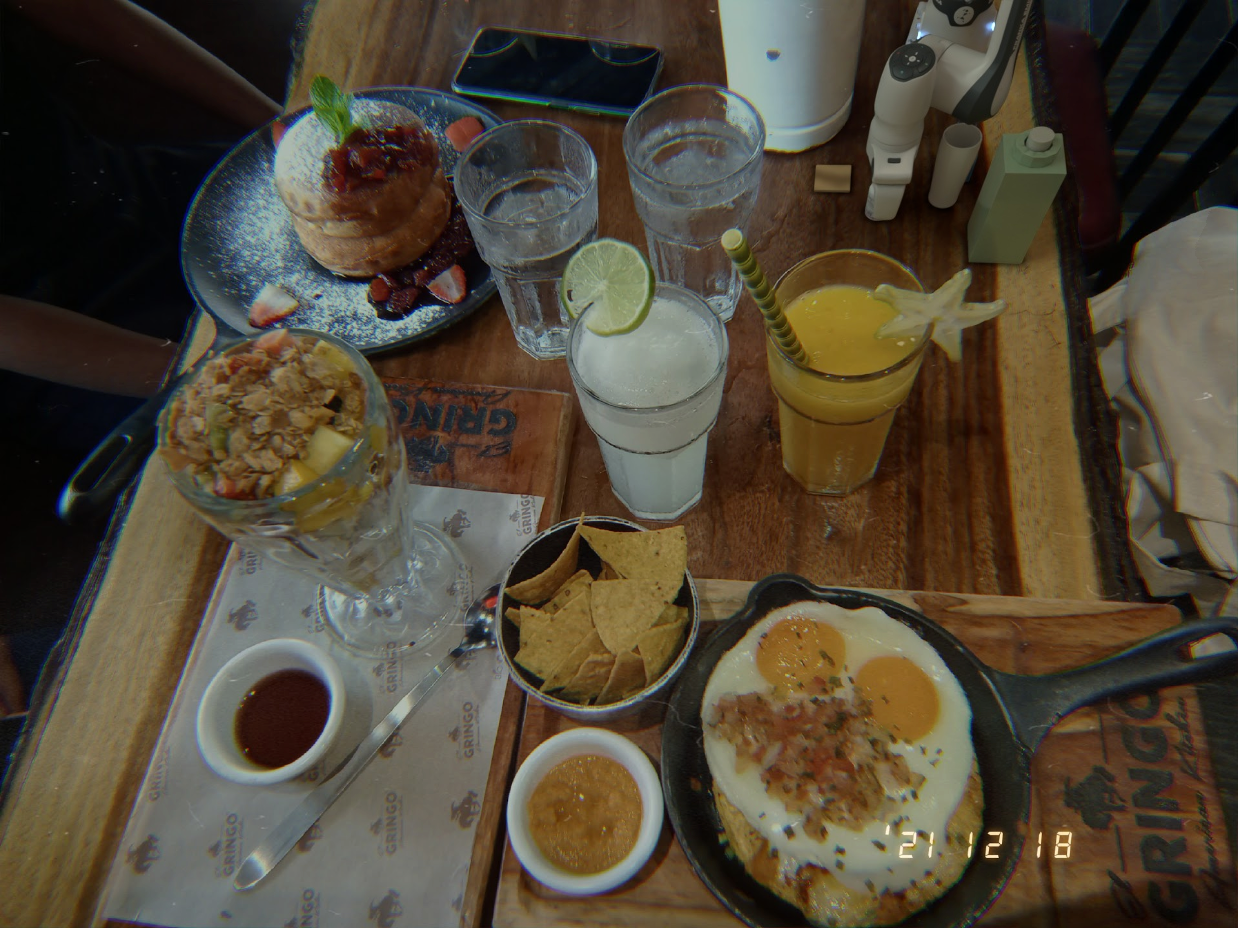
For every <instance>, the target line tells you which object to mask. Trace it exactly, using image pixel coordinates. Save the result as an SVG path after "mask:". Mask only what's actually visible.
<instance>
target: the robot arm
mask: <svg viewBox="0 0 1238 928" xmlns="http://www.w3.org/2000/svg"><path fill="white" fill-rule="evenodd" d="M994 1H995V0H927V1H919V3H918V6H917V8H916V10H915V11H916V12H915V14H914V17H913V20H912V22H911V26H910V29H909V33H908V34H907V38H906V41H905V44H903V45H902V46H899V47H898V48H896V49H895V50H894V51H893V52H892V53H891V54H890V56H889V57H888V60H886V63H885V66H884V67H883V71H882V73H881V76H880V79H879V82H878V86H877V90H876V95H875V99H874V110H873V111H874V116H873V118H872V120H871V122H870V125H869V131H868V136H867V142H866V148H865V151H866V152H865V153H866V155H867V157H868V160H869V165H870V171H871V183H874V207H873V217H874V219H876V220H881V221H891V220H893V219H895V218H896V216H897V213H898V211H899V208H900V206H901V203H902V200H903V198H904V194H905V190H906V186H907V185H908V184H909V185H910V183H911V181H912V178H913V174H914V166H915V160H916V159H917V156H918V153H919V148H920V144H921V141H922V137H923V135H924V129H925V117H926V116H927V114H928V113H929V110H930V108H933V109H935V110H937V111H940V112H943V113H945V114H948V115H950V116H951V117H952V118H954V119H956V120H957V121H961V122H963V123H965V124H967V125H973V124H977V125H978V124H979V123H980V124H981V123H983V122H986V121H988V120H990V119H991V118H994V117H995V116H996V115H997V114H998V113H999V111H1000V110H1001V108H1002V107H1003V105H1004V104H1005V102H1006V100H1007V99H1008V96H1009V94H1010V90H1011V86H1012V83H1013V79H1014V75H1015V69H1016V65H1017V61H1018V57H1019V53H1020V50H1021V46H1022V42H1023V39H1024V36H1025V33H1026V30H1027V27H1028V24H1029V21H1030V18H1031V14H1032V11H1033V7H1034V5H1035V1H1036V0H1001V1H1000V4H999V8H998V9H996V8H997V7H996V6H995V4H994Z"/></svg>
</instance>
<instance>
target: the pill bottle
mask: <svg viewBox="0 0 1238 928" xmlns="http://www.w3.org/2000/svg"><path fill="white" fill-rule="evenodd" d="M873 207H874V183H873V182H871V185H870V186H869V189H868V194H867V199H866V203H865V208H864V210H865V211H864V215H865V216H866V217H867V218H868V219H869V220H871V221H874V222H875V221H876V222H879V221H882V220H876V219H874V217H873Z"/></svg>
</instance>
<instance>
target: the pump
mask: <svg viewBox="0 0 1238 928" xmlns="http://www.w3.org/2000/svg"><path fill="white" fill-rule="evenodd" d="M1031 129H1032V130H1031V131H1030V134H1029V136H1028V138H1027V141H1026V143H1025V145H1026V147H1027V148H1028V149H1029V150H1031V151H1034V152H1045V151H1047V150H1048V149H1049V148H1050V145H1051V143H1052V141H1053V139H1054V137H1055V134H1054V133H1055V131H1054V130H1053V129H1052V128H1050V127H1047V126H1041V125H1040V126H1036V127H1033V128H1031Z"/></svg>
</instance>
